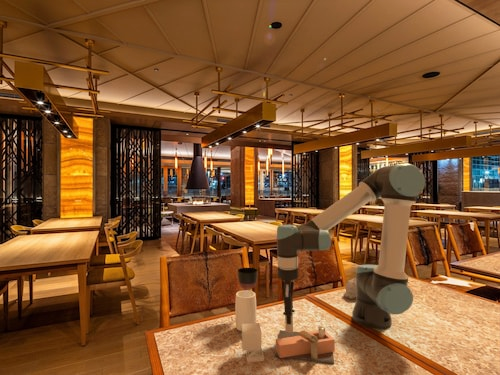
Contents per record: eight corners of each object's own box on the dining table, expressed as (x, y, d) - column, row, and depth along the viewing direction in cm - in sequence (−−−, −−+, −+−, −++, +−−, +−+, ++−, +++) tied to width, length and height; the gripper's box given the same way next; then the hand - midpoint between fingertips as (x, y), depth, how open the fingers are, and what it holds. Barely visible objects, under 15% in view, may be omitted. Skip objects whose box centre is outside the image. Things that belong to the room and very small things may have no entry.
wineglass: (256, 320, 118) (255, 273, 118) (236, 318, 120) (235, 272, 120) (259, 312, 126) (258, 268, 126) (240, 310, 127) (240, 267, 127)
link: (324, 341, 100) (324, 329, 100) (334, 351, 93) (334, 339, 93) (274, 348, 95) (274, 337, 95) (281, 360, 89) (281, 347, 89)
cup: (259, 326, 113) (259, 291, 113) (252, 336, 105) (252, 299, 105) (239, 323, 116) (239, 289, 116) (231, 333, 108) (231, 296, 108)
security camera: (241, 352, 95) (241, 322, 95) (261, 351, 96) (261, 321, 96) (242, 363, 89) (242, 332, 89) (264, 362, 90) (263, 331, 90)
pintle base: (330, 338, 103) (330, 318, 103) (334, 367, 87) (334, 343, 87) (279, 333, 108) (279, 313, 108) (273, 359, 91) (273, 336, 91)
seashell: (375, 301, 137) (375, 281, 137) (346, 300, 138) (346, 280, 138) (367, 292, 149) (367, 273, 149) (340, 291, 150) (340, 273, 150)
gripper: (279, 262, 110) (281, 322, 110) (275, 272, 97) (277, 339, 97) (298, 262, 108) (300, 323, 108) (297, 272, 96) (298, 341, 95)
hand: (289, 331), depth 103 cm, fingers closed
